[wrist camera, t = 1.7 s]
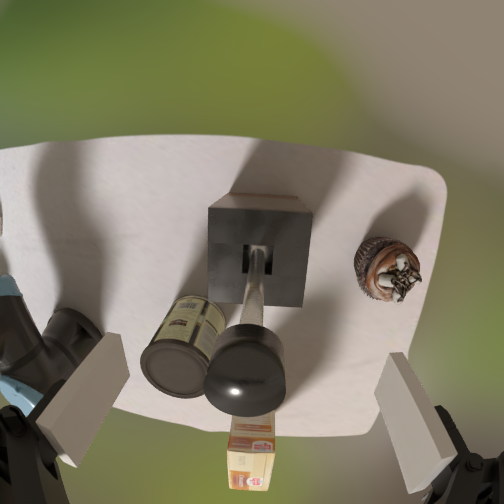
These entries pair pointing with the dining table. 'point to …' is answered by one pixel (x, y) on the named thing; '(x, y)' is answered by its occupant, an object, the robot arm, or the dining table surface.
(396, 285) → the cupcake
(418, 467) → the robot arm
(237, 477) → the coffeecake box
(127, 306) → the dining table surface
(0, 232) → the spoon rest
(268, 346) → the plunger
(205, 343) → the coffee can
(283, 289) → the grey brown upright block
